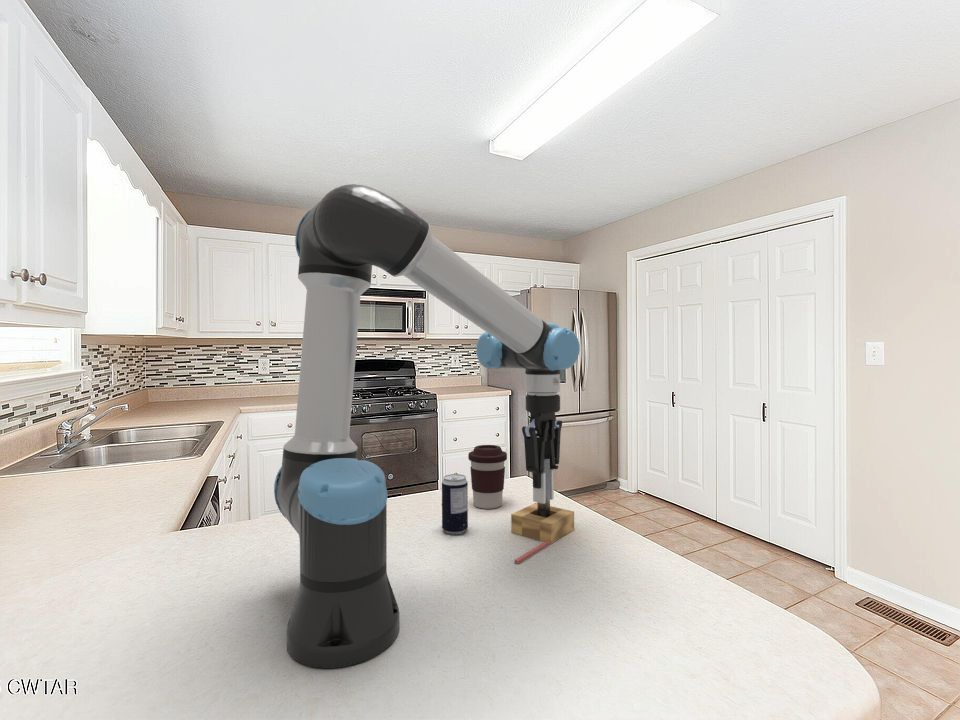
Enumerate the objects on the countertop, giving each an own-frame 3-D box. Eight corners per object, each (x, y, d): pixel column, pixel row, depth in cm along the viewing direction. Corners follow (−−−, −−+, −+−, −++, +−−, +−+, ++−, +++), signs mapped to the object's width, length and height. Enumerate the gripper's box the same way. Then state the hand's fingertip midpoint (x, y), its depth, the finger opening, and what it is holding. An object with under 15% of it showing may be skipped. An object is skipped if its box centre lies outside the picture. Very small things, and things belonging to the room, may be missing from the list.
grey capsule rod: (546, 529, 102) (545, 460, 102) (534, 526, 104) (534, 458, 104) (552, 525, 104) (552, 458, 104) (541, 523, 106) (541, 456, 106)
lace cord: (518, 564, 88) (518, 561, 88) (514, 563, 88) (514, 559, 88) (550, 543, 97) (550, 540, 97) (547, 542, 98) (547, 539, 98)
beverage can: (469, 526, 107) (469, 473, 107) (466, 536, 101) (465, 480, 101) (444, 525, 107) (444, 473, 107) (439, 535, 102) (439, 480, 102)
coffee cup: (462, 502, 124) (462, 445, 124) (496, 497, 129) (496, 442, 128) (478, 513, 115) (478, 452, 115) (514, 507, 120) (513, 448, 119)
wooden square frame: (551, 543, 97) (551, 524, 97) (511, 532, 103) (511, 514, 103) (574, 529, 105) (574, 511, 105) (535, 519, 111) (535, 502, 111)
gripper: (538, 397, 95) (539, 513, 96) (575, 391, 107) (575, 494, 108) (507, 395, 100) (508, 506, 100) (546, 390, 112) (547, 488, 113)
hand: (543, 499), depth 104 cm, fingers closed on grey capsule rod, 3 cm apart
